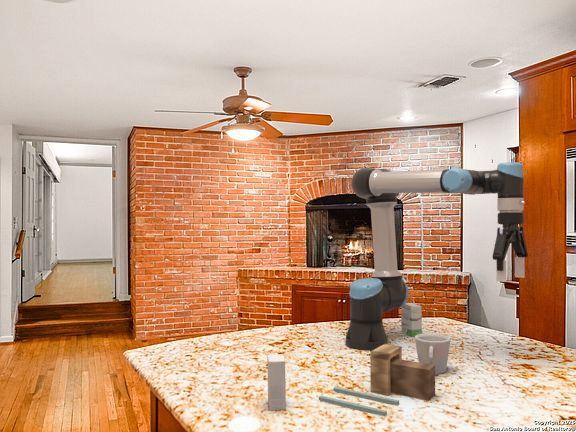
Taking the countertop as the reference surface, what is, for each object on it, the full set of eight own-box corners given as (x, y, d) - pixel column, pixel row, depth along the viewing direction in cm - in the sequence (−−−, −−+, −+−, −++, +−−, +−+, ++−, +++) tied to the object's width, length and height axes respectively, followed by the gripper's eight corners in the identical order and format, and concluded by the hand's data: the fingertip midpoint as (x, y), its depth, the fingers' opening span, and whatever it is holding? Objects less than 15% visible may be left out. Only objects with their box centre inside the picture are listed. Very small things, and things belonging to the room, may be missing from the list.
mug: (451, 366, 152) (450, 334, 152) (450, 382, 138) (450, 346, 138) (416, 363, 155) (416, 332, 155) (412, 378, 141) (411, 343, 141)
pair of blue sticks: (318, 400, 125) (318, 396, 125) (335, 390, 133) (335, 386, 133) (384, 416, 115) (384, 412, 115) (399, 404, 122) (399, 400, 122)
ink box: (422, 336, 190) (422, 305, 190) (411, 337, 189) (410, 306, 189) (411, 331, 198) (411, 302, 198) (400, 332, 197) (400, 302, 197)
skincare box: (267, 401, 125) (267, 354, 125) (284, 400, 125) (283, 353, 125) (268, 410, 119) (268, 361, 119) (286, 410, 119) (285, 360, 119)
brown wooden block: (370, 389, 133) (370, 360, 133) (378, 384, 137) (378, 355, 137) (429, 401, 124) (428, 370, 124) (435, 395, 128) (435, 364, 128)
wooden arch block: (370, 391, 131) (370, 351, 131) (385, 381, 139) (384, 343, 139) (388, 395, 128) (387, 354, 128) (401, 385, 136) (401, 346, 136)
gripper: (505, 211, 143) (505, 284, 144) (538, 211, 160) (538, 276, 160) (480, 212, 149) (480, 282, 149) (514, 211, 166) (515, 274, 166)
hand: (510, 279), depth 155 cm, fingers open, 13 cm apart
